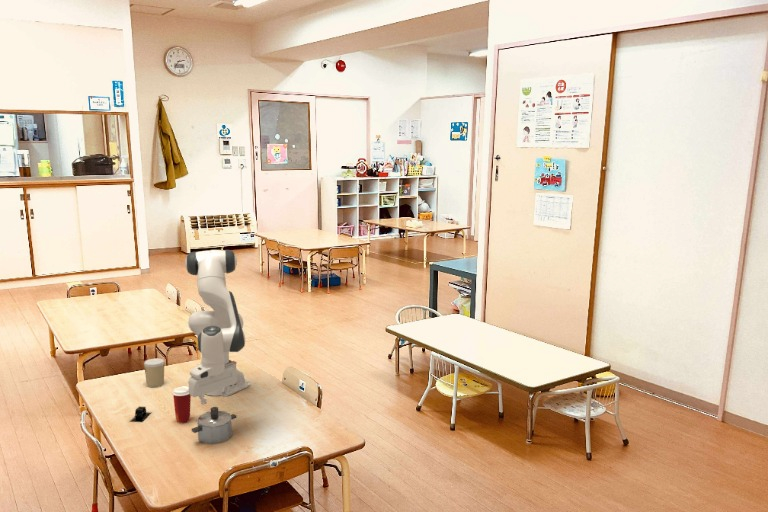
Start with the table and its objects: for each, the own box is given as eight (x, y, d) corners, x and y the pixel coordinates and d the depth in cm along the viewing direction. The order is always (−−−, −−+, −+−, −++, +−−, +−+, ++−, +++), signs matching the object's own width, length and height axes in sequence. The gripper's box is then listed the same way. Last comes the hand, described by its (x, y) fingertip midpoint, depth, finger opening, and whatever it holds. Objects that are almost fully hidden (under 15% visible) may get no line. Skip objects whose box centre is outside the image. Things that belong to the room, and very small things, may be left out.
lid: (220, 409, 246) (219, 399, 246) (237, 419, 238) (237, 408, 237) (191, 419, 237) (191, 408, 236) (209, 430, 228) (208, 418, 228)
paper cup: (196, 418, 254) (195, 387, 252) (184, 425, 247) (183, 394, 245) (181, 415, 257) (179, 384, 254) (169, 422, 249) (167, 391, 247)
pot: (226, 423, 250) (226, 407, 249) (244, 433, 241) (244, 417, 240) (185, 438, 236) (184, 422, 235) (202, 449, 227) (201, 432, 226)
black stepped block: (142, 425, 248) (142, 415, 247) (125, 424, 248) (124, 414, 247) (155, 412, 260) (154, 402, 259) (138, 411, 260) (138, 401, 260)
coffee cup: (151, 380, 294) (150, 357, 292) (169, 381, 293) (168, 358, 291) (141, 387, 285) (140, 364, 283) (159, 389, 284) (158, 365, 282)
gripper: (231, 358, 243) (232, 390, 246) (185, 372, 228) (187, 405, 231) (240, 362, 239) (241, 394, 242) (194, 376, 224) (195, 410, 227)
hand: (214, 400), depth 236 cm, fingers open, 8 cm apart
